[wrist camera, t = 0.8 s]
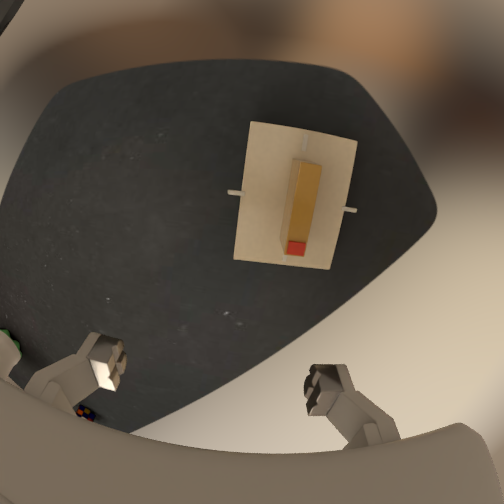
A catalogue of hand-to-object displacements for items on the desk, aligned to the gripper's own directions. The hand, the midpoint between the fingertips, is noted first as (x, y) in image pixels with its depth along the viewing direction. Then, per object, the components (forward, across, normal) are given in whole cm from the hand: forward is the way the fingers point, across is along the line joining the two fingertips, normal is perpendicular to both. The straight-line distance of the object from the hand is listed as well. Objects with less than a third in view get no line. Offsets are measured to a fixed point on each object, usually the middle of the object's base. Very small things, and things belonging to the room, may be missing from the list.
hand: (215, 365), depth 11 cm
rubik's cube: (+18, +28, +44) cm, 55 cm away
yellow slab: (+14, -5, -4) cm, 16 cm away
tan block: (+18, -5, -4) cm, 19 cm away
